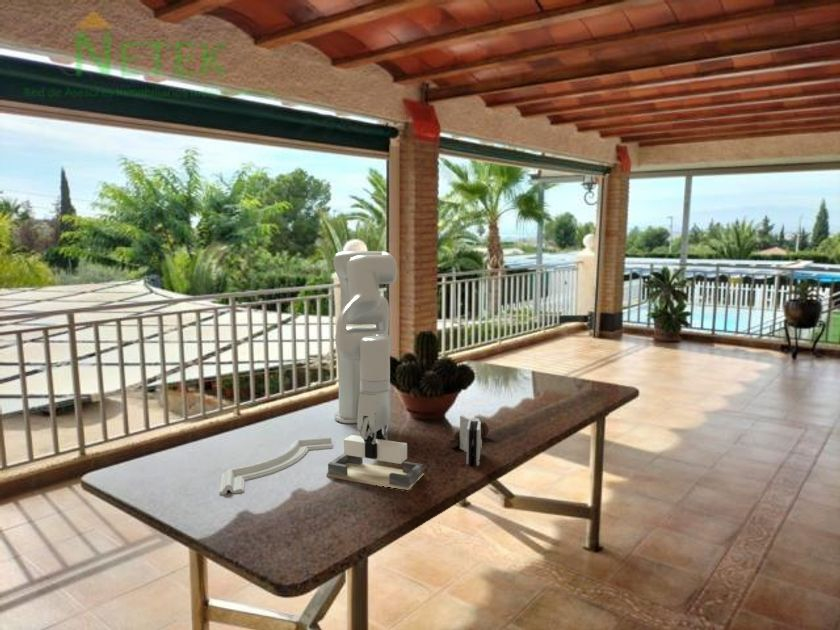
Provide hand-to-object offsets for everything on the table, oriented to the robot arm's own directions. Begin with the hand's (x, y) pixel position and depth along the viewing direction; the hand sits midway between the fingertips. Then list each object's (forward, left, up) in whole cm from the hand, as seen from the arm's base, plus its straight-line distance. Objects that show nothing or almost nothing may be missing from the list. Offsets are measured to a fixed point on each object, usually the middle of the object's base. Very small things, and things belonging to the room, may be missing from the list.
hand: (375, 454), depth 152 cm
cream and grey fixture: (0, 0, -6) cm, 6 cm away
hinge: (-23, +18, -6) cm, 30 cm away
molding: (+3, -27, -7) cm, 28 cm away
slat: (0, 0, -1) cm, 1 cm away
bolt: (-34, +14, -6) cm, 37 cm away
